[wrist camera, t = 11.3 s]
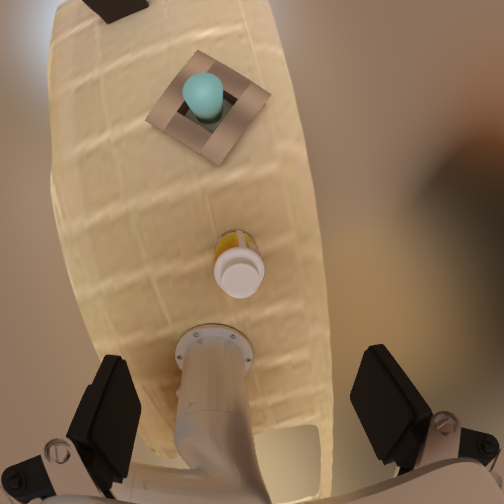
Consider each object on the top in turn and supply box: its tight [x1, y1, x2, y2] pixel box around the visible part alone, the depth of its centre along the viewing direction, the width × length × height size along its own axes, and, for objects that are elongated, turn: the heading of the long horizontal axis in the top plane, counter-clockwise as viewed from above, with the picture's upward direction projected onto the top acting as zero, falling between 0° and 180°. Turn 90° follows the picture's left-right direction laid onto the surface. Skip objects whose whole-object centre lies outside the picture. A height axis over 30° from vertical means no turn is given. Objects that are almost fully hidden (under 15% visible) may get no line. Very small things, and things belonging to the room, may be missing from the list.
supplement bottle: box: [214, 230, 265, 298], centre depth 33 cm, size 6×6×10 cm
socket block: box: [145, 50, 271, 166], centre depth 29 cm, size 10×10×5 cm
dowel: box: [183, 73, 223, 125], centre depth 26 cm, size 3×3×12 cm
